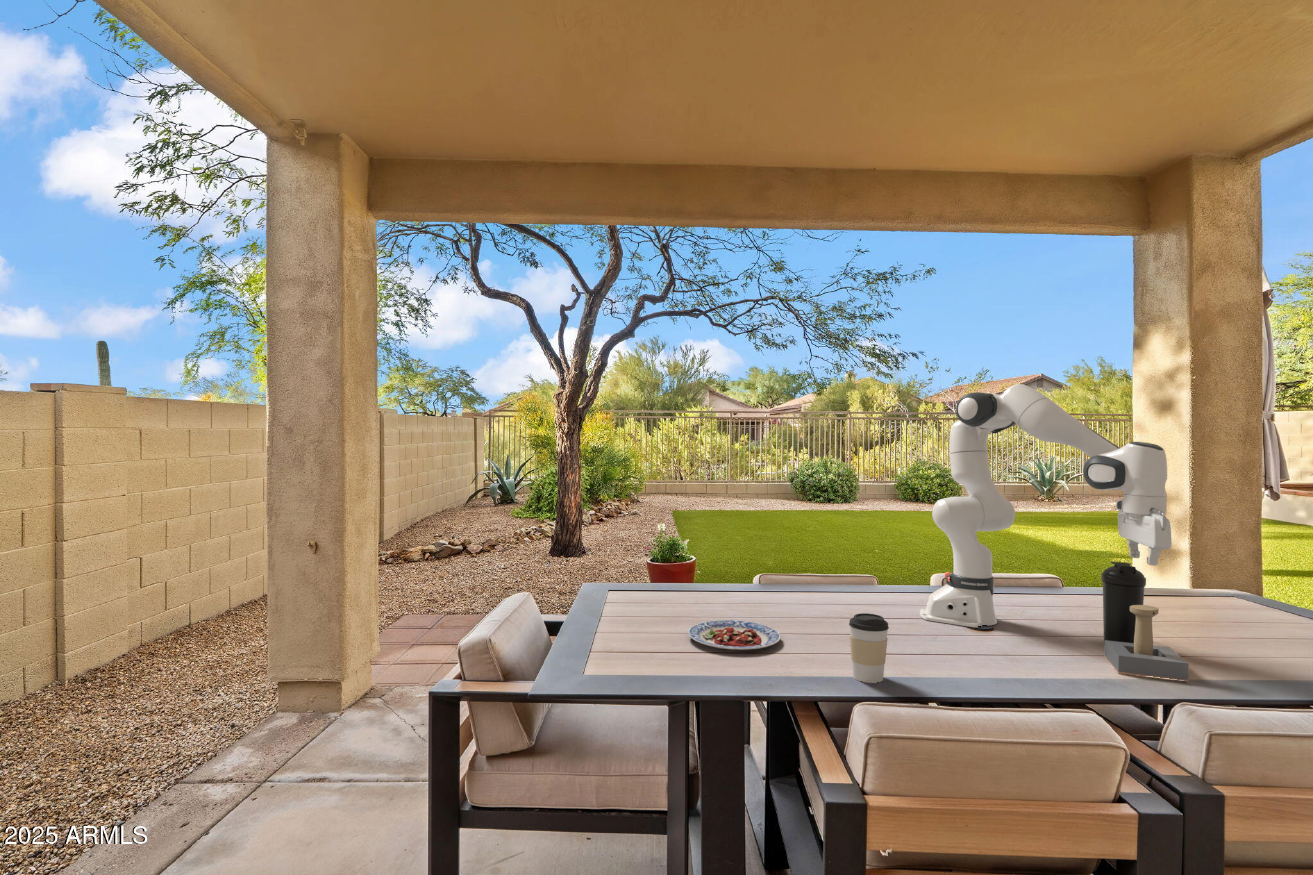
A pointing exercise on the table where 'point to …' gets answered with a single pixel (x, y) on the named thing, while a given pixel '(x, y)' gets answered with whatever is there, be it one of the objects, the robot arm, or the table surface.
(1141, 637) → the handle
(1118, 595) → the water bottle
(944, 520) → the robot arm
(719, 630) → the ceramic plate
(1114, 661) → the socket block
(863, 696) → the table surface
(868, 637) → the coffee cup
